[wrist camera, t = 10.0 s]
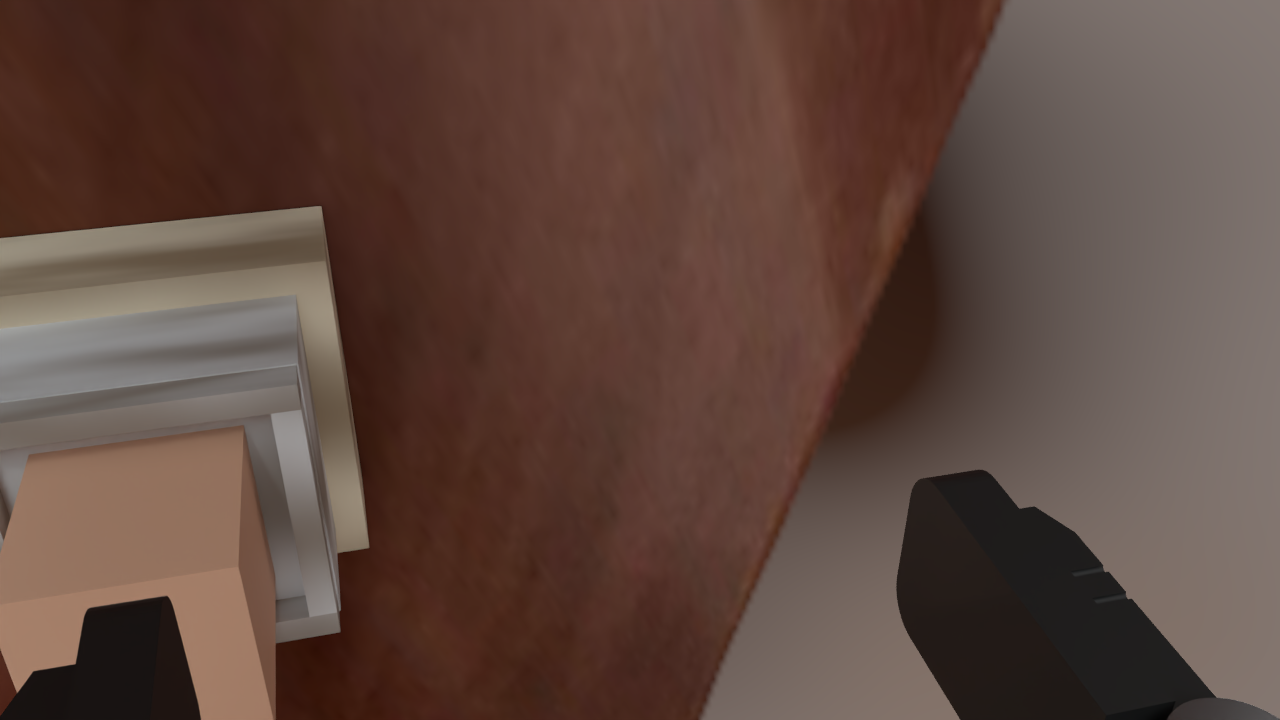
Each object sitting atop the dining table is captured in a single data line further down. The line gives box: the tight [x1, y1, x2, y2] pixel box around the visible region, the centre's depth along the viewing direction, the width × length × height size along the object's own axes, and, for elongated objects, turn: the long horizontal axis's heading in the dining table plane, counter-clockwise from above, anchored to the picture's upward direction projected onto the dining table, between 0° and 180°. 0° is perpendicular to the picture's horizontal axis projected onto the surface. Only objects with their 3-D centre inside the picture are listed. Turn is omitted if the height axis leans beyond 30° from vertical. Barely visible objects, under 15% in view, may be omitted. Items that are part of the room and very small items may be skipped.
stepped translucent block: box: [0, 206, 369, 643], centre depth 37 cm, size 11×11×9 cm
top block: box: [0, 425, 276, 720], centre depth 32 cm, size 6×6×6 cm
